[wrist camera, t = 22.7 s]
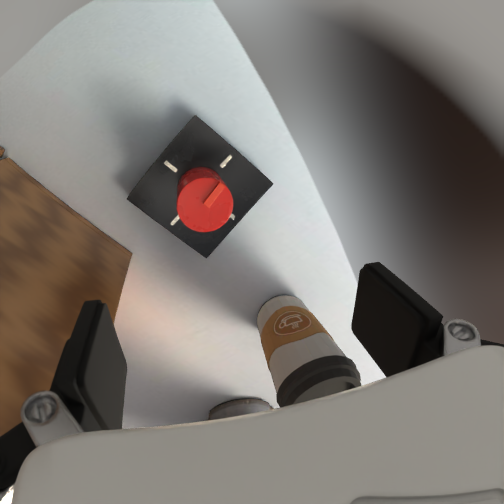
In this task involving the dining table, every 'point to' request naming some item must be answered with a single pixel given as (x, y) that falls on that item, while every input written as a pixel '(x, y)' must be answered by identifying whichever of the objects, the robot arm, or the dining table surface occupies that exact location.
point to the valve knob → (203, 200)
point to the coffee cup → (302, 353)
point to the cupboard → (45, 283)
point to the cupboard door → (1, 151)
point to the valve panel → (184, 159)
